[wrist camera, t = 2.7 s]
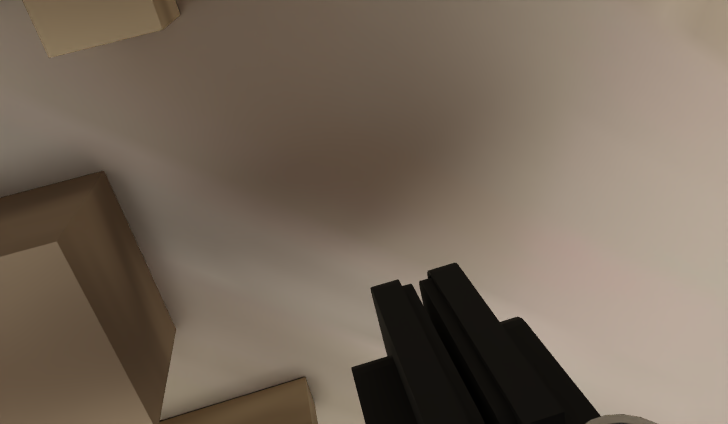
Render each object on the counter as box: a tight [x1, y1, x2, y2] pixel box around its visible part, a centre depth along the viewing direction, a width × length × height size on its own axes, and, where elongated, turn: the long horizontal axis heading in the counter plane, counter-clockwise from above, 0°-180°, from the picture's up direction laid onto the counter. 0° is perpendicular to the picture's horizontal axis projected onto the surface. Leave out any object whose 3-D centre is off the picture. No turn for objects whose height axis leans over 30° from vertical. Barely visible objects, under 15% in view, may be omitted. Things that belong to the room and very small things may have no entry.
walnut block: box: [0, 171, 176, 424], centre depth 13 cm, size 5×5×4 cm
